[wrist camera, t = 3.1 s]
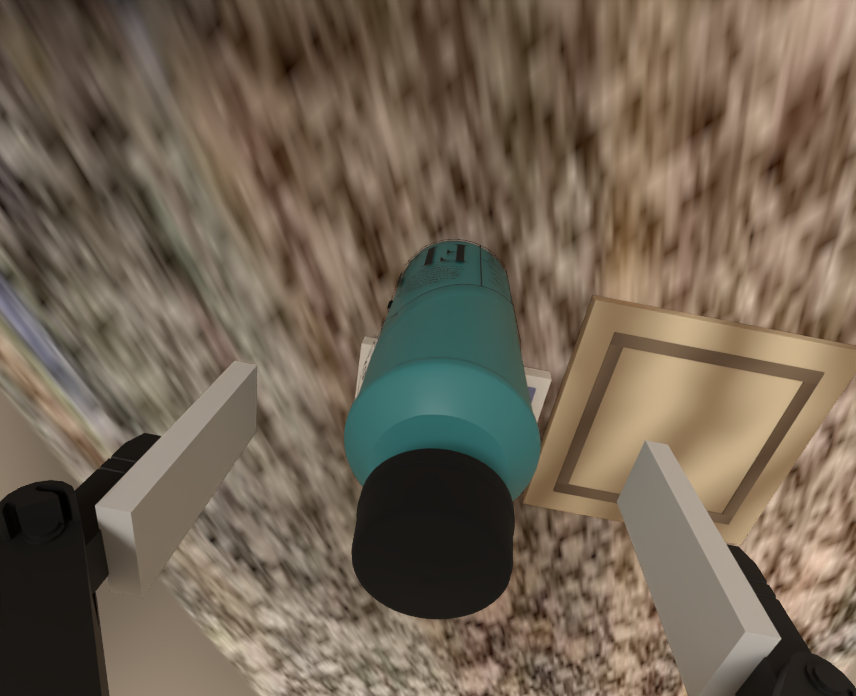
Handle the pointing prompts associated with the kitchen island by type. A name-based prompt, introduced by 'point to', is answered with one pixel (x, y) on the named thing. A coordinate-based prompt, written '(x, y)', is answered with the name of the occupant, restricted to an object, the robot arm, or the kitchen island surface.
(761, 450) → the mark board
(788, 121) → the kitchen island surface
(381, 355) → the beverage bottle
